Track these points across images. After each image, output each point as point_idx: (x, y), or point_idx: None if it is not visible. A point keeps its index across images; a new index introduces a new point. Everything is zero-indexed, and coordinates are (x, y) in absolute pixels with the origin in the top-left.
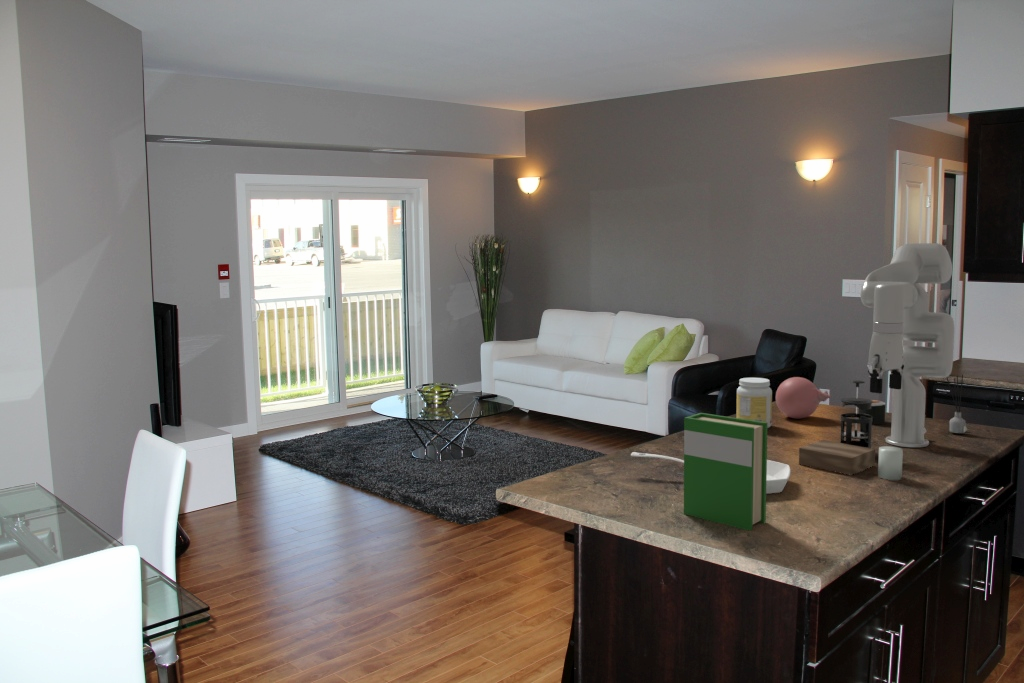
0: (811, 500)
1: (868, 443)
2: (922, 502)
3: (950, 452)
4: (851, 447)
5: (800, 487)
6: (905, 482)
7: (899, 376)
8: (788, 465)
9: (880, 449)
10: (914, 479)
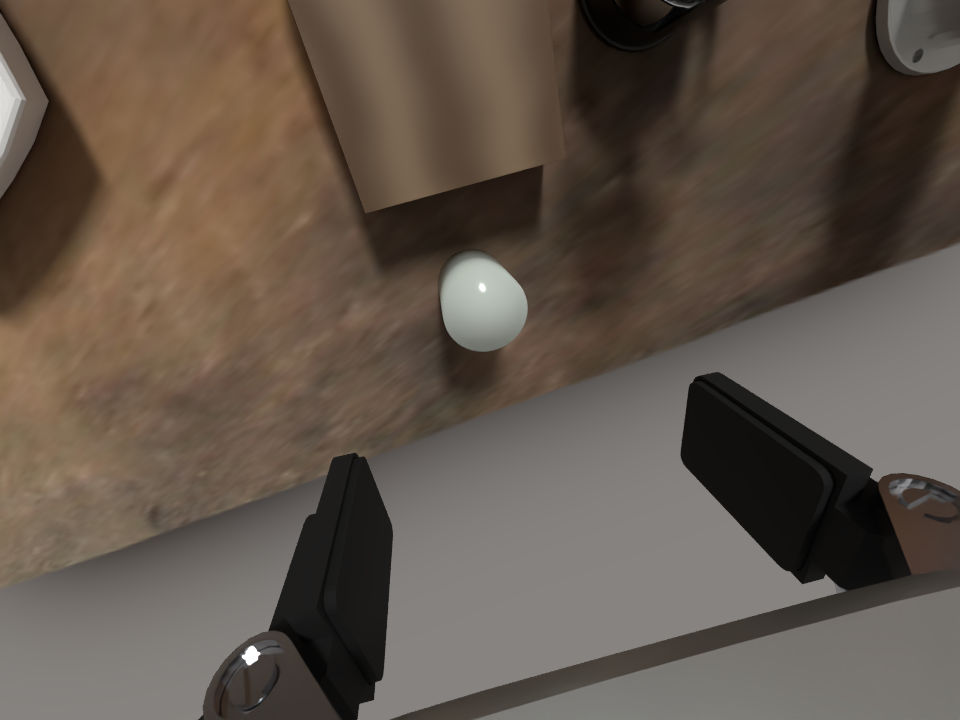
0: (60, 343)
1: (667, 26)
2: None
3: (876, 181)
4: (507, 66)
5: (88, 222)
6: None
7: (783, 566)
8: (14, 108)
9: (446, 298)
10: None
